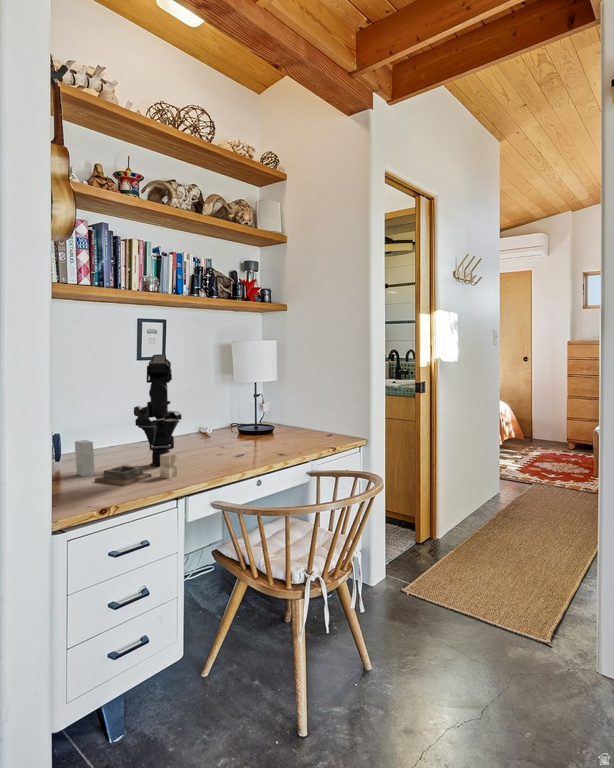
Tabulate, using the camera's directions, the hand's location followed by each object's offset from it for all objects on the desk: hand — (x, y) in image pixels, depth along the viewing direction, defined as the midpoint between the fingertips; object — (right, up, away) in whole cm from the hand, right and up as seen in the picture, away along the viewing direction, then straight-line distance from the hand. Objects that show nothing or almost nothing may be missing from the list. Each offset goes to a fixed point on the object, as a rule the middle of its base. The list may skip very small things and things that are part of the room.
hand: (159, 443), depth 172 cm
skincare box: (-28, -12, +4) cm, 31 cm away
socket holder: (-12, -12, -2) cm, 17 cm away
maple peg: (+3, -12, +2) cm, 13 cm away
